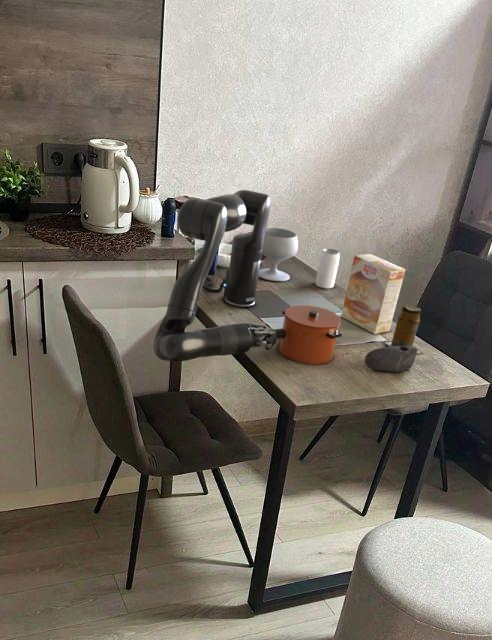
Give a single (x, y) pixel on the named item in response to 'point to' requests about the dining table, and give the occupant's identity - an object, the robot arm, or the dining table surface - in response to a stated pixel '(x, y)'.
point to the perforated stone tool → (391, 358)
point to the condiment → (406, 327)
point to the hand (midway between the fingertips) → (284, 333)
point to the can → (327, 268)
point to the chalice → (278, 252)
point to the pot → (309, 334)
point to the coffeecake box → (372, 293)
